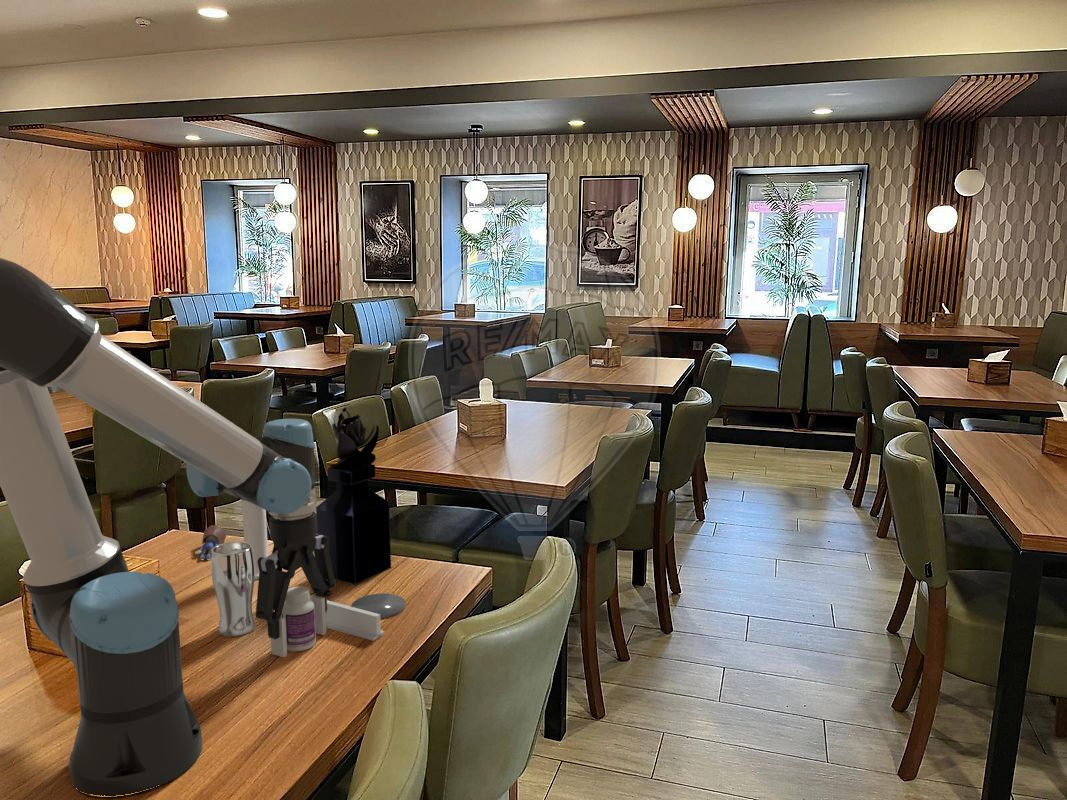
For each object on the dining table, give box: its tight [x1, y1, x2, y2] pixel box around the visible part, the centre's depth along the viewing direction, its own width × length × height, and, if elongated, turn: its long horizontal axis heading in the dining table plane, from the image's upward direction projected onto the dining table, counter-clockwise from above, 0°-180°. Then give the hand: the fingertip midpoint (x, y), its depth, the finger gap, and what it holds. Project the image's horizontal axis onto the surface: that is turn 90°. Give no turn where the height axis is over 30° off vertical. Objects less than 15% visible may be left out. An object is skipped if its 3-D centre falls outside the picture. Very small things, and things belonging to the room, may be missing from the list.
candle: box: [241, 499, 269, 580], centre depth 160 cm, size 7×7×25 cm
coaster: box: [350, 592, 407, 620], centre depth 146 cm, size 10×10×1 cm
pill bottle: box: [281, 586, 317, 652], centre depth 130 cm, size 5×5×10 cm
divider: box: [309, 597, 386, 642], centre depth 137 cm, size 3×18×4 cm, turn 62°
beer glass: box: [210, 540, 256, 638], centre depth 135 cm, size 7×7×15 cm
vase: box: [315, 407, 392, 586], centre depth 162 cm, size 14×12×35 cm
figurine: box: [194, 524, 227, 560], centre depth 174 cm, size 6×5×12 cm
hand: (299, 643), depth 131 cm, fingers open, 8 cm apart
